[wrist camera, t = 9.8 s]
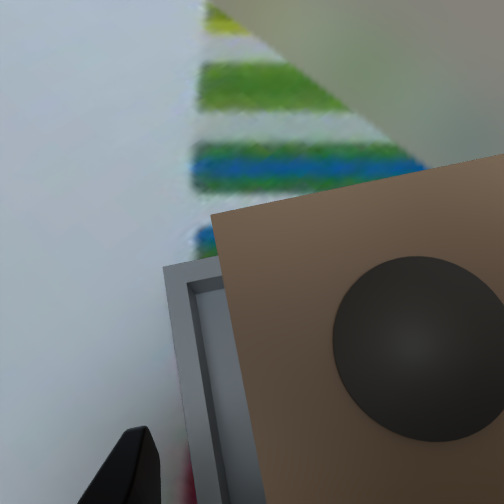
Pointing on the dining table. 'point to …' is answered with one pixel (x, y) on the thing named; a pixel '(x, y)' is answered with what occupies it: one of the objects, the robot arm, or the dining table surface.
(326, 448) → the block
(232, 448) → the tray
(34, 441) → the dining table surface
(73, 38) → the dining table surface
